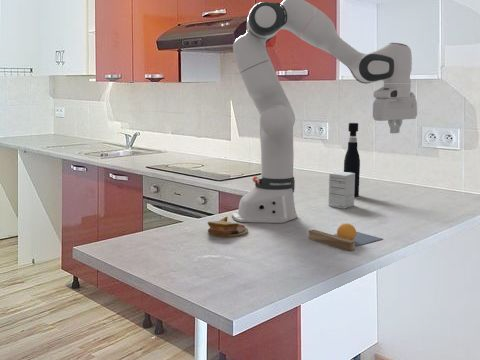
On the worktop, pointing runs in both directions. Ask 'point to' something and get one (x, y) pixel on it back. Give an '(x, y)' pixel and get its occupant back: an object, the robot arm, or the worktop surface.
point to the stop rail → (332, 240)
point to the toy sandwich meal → (226, 229)
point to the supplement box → (341, 189)
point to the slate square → (363, 239)
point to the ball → (346, 231)
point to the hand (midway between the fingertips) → (394, 133)
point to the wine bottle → (353, 156)
